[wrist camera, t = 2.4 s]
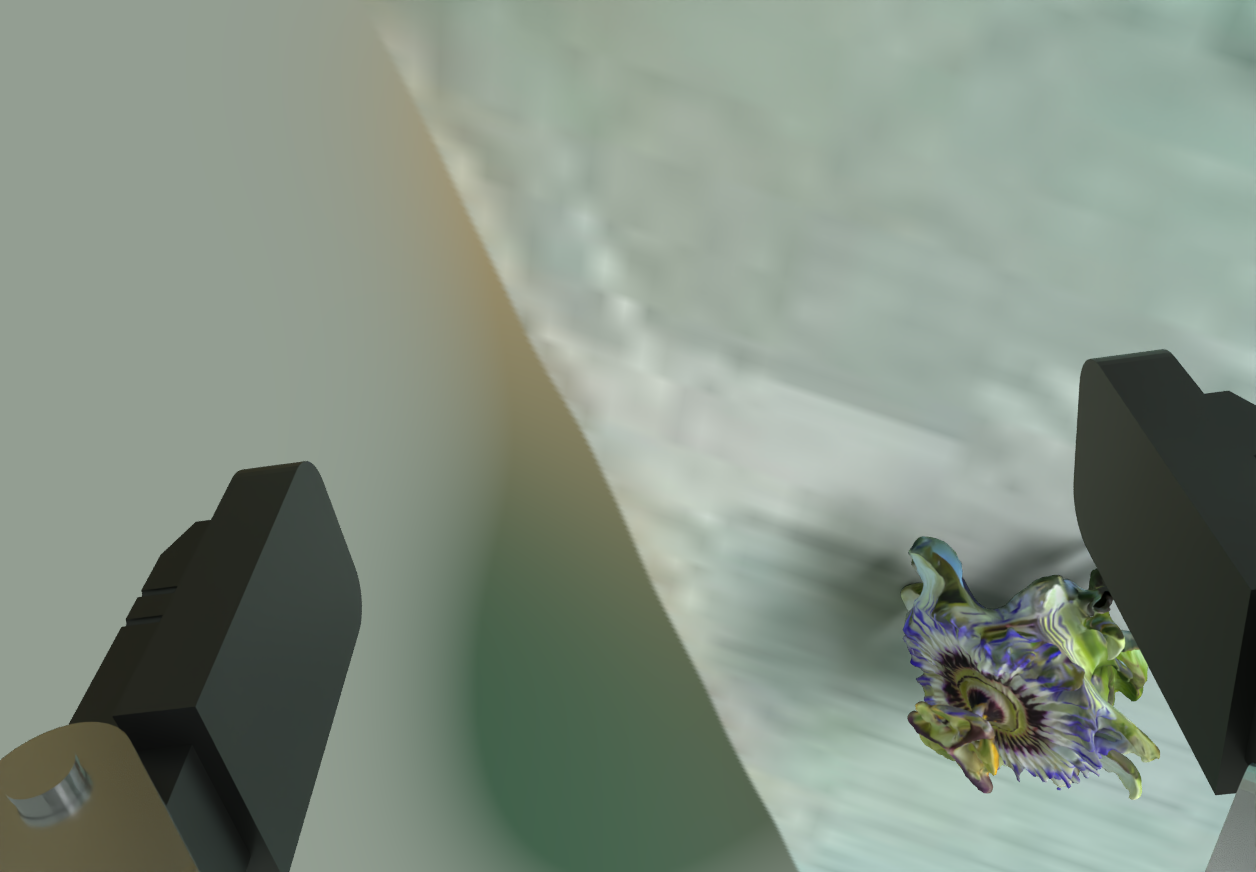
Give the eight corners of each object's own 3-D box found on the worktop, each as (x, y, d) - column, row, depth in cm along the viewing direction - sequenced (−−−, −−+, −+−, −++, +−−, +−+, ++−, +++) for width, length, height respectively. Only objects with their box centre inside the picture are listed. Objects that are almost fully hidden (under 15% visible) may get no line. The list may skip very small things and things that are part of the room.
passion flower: (900, 502, 51) (828, 569, 40) (1162, 435, 46) (1160, 491, 35) (978, 746, 51) (927, 878, 40) (1248, 704, 46) (1272, 842, 35)
